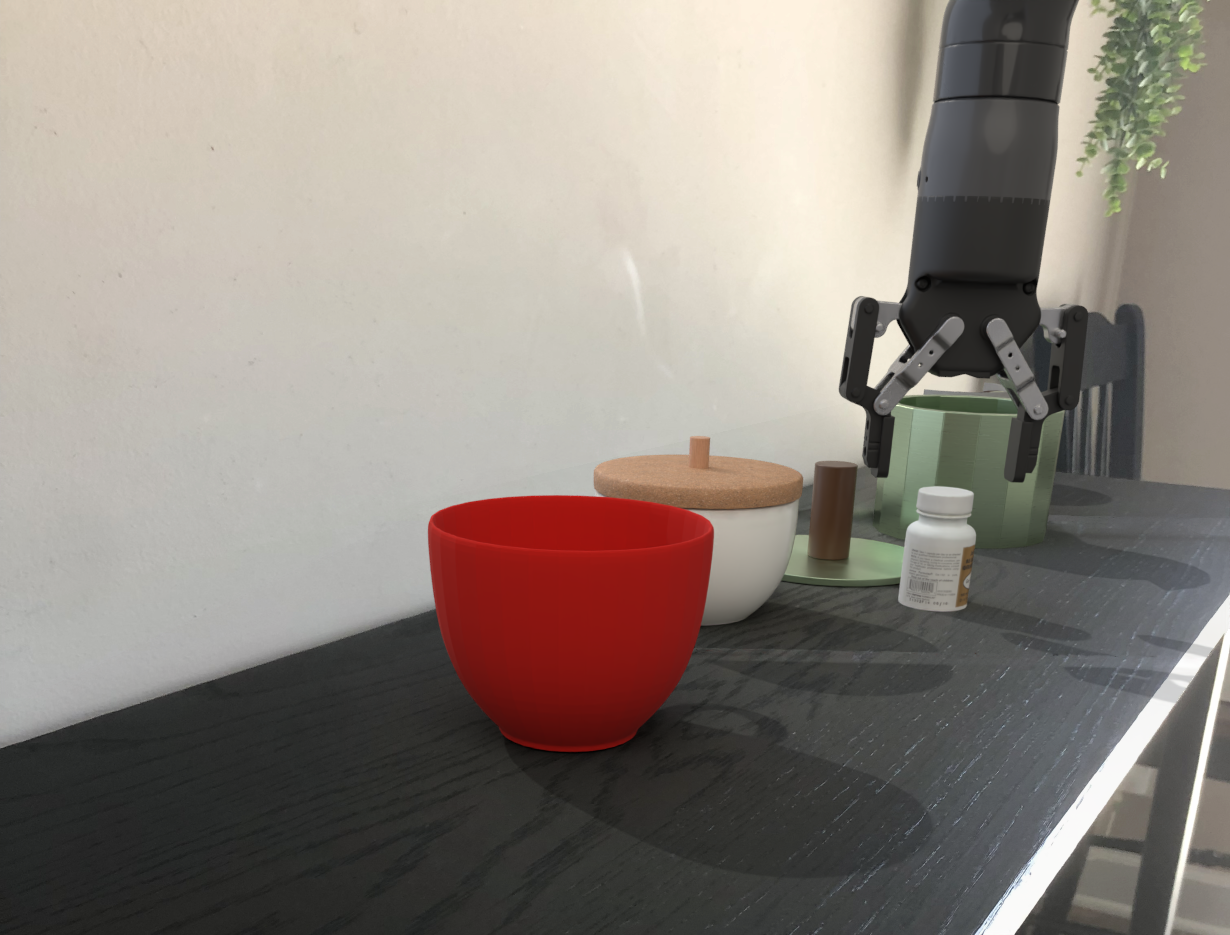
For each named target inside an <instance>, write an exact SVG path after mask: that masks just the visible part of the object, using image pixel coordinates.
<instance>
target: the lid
mask: <svg viewBox="0 0 1230 935" xmlns="http://www.w3.org/2000/svg"><path fill="white" fill-rule="evenodd" d="M858 470H859V464H857V463H855V462H851V461H843V460H820V461H816V462H815V463H814V470H813V481H812V482H813V483H812V492H811V493H812V494H811V495H812V496H811V504H810V505H811V506H810V518H809V528H808V534H796V535H795V540H794V545H793V549H792V554H791V557H790V560H789V563H788V566H787V569H786V572H785V574H784V576H783V578H782V580H781V582H788V583H796V584H803V585H814V586H825V587H844V588H845V587H851V588H853V587H855V588H857V587H858V588H861V587H881V586H892V585H900V580H901V571H902V563H903V554H904V546H903V545H898V544H894V543H890V542H884V541H881V540H880V541H879V540H873V539H867V538H860V537H859V538H858V537H852V531H853V530H852V529H853V520H854V509H855V500H856V499H855V498H856V488H857V479H858Z"/></svg>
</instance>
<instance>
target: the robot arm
mask: <svg viewBox="0 0 1230 935" xmlns="http://www.w3.org/2000/svg"><path fill="white" fill-rule="evenodd" d="M1079 2H1080V0H948V2H947V4H946V6H945V9H944V13H943V16H942V22H941V25H940V26H941V27H940V33H939V41H938V52H937V58H936V67H935V68H936V69H935V77H934V85H933V86H934V87H933V96H932V104H931V109H930V116H929V120H928V125H927V129H926V134H925V135H924V136H925V137H924V140H923V147H922V151H921V152H922V153H921V161H920V167H919V170H918V172H917V178H916V187H917V188H916V189H917V196H916V203H915V214H914V222H913V232H912V240H911V248H910V257H909V268H908V276H907V284H906V288H905V291H904V293H903V295H902V297H901V299H900V300H899V302H895V301H886V300H877V299H875V298H874V297H870V296H865V295H859V296H857V297H855V298H854V299H853V300H852V302H851V306H850V312H849V317H848V325H847V331H846V339H845V345H844V351H843V358H842V364H841V370H840V375H839V376H840V378H839V383H838V393H839V396H840V397H842V398H843V399H844V400H846V401H848V402H849V403H852V404H855V405H857V406H859V407H862V408H863V410H864V411H865V425H864V434H863V444H862V454H861V457H862V461H863V464H864V465H865V466H866V467H867V468H868V469H870V474H871V476H872V477H874V478H887V477H888V474H889V467H890V458H891V449H892V440H893V431H894V422H895V417H894V416H892V415H891V411H892V410H893V409H894V407H895V406H896V405H897V404H898V403H899V402H900V400H901V399H902V398H903V397H904V396H906V395H907V394H908V393H909V392H910V390H911V389H912V388H915V387H916V386H918V384H919V383H920V381H922V380H923V378H924V377H925V376H926V374H927V373H929V374H931V375H933V376H935V377H937V378H954V377H959V376H962V375H966V376H969V377H973V378H975V379H987V380H988V379H991V377H993V376H995V377H996V379H997V380H998V382H999V384H1001V385H1002V386H1003V387H1004V388H1005V389H1006V391H1007V393H1008V395H1009V396H1010V398H1011V400H1012V402H1013V404H1014V405H1015V407H1016V409H1017V411H1018V413H1017V418H1013V417H1012V420H1011V427H1010V434H1009V440H1008V447H1007V454H1006V461H1005V468H1004V478H1005V479H1006V480H1008V481H1010V482H1016V483H1023V482H1024V480H1025V476H1026V473H1032V472H1033V470H1034V468H1035V466H1036V463H1037V455H1038V448H1039V444H1040V437H1041V431H1042V425H1043V422H1044V420H1045V419H1046V418H1047V417H1048V416H1050V415H1051V414H1054V413H1057V412H1060V411H1063V410H1065V411H1072V410H1074V409H1075V408H1077V406H1078V405H1079V402H1080V396H1081V388H1082V380H1083V379H1082V378H1083V368H1084V360H1085V359H1084V358H1085V351H1086V350H1085V349H1086V340H1087V330H1088V324H1089V323H1088V322H1089V311H1088V309H1087V308H1086V307H1085V306H1083V305H1079V304H1075V303H1063V304H1060V305H1059V306H1042V307H1041V306H1040V304H1039V301H1038V295H1037V293H1038V292H1037V291H1038V290H1037V289H1038V285H1039V281H1040V280H1039V279H1040V273H1041V265H1042V259H1043V253H1044V245H1045V239H1046V232H1047V227H1048V226H1047V225H1048V219H1049V212H1050V206H1051V198H1052V192H1053V187H1054V186H1053V185H1054V178H1055V171H1056V165H1057V159H1058V149H1059V119H1060V118H1059V116H1060V104H1061V100H1062V93H1063V87H1064V79H1065V72H1066V67H1067V66H1066V65H1067V60H1068V50H1069V43H1070V33H1071V25H1072V21H1073V19H1074V14H1075V12H1076V9H1077V7H1078V4H1079ZM893 321H896V323H897V325H898V327H899V329H900V331H901V333H902V335H903V337H904V338H905V340H906V342H907V346H906V347H905V348H904V349H903V351H901V353H899V355H898V356H897V358H896V359H895V360H894V361H893V363H892V364H890V366H889V368H888V369H887V371H886V373H885V374H884V376H883V377H882V378H881V379H880V380H879V381H878V383H877V384H876V385H875V386H874V387H871V386H869V385H868V380H869V375H870V369H871V362H872V357H873V356H872V355H873V350H874V344H875V339H879V338H881V337H883V336H884V335H885V334H886V332H887V329H888V327H889V325H890V324H891V323H892V322H893ZM1039 326H1040V327H1041V328H1042V330H1043V337H1044V339H1045V341H1046V342H1048V343H1050V344H1051V348H1050V356H1049V357H1050V358H1049V368H1048V379H1047V388H1046V389H1047V390H1043V391H1041V390H1040V388H1039V386H1038V384H1037V383H1036V380H1035V379H1036V378H1035V375H1034V373H1033V372H1032V370H1031V367H1030V366H1029V364H1028V362H1027V360H1026V359H1025V357H1024V355H1023V354H1022V352H1021V348H1022V347H1023V346H1024V345H1025V343H1026V342H1027V341H1028V340H1029V339H1030V337H1031V336H1032V335H1033V334H1034V333H1035V332H1036V331H1037V329H1038V328H1039Z"/></svg>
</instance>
